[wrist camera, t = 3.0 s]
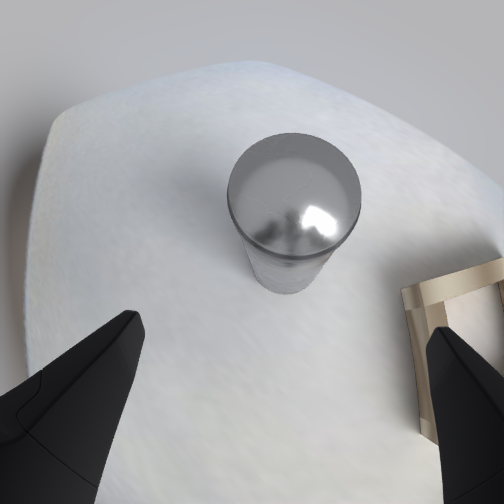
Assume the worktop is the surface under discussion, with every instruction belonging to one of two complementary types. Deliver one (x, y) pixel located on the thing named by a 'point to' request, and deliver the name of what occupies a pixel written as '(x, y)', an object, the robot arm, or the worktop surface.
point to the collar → (439, 322)
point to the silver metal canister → (292, 207)
